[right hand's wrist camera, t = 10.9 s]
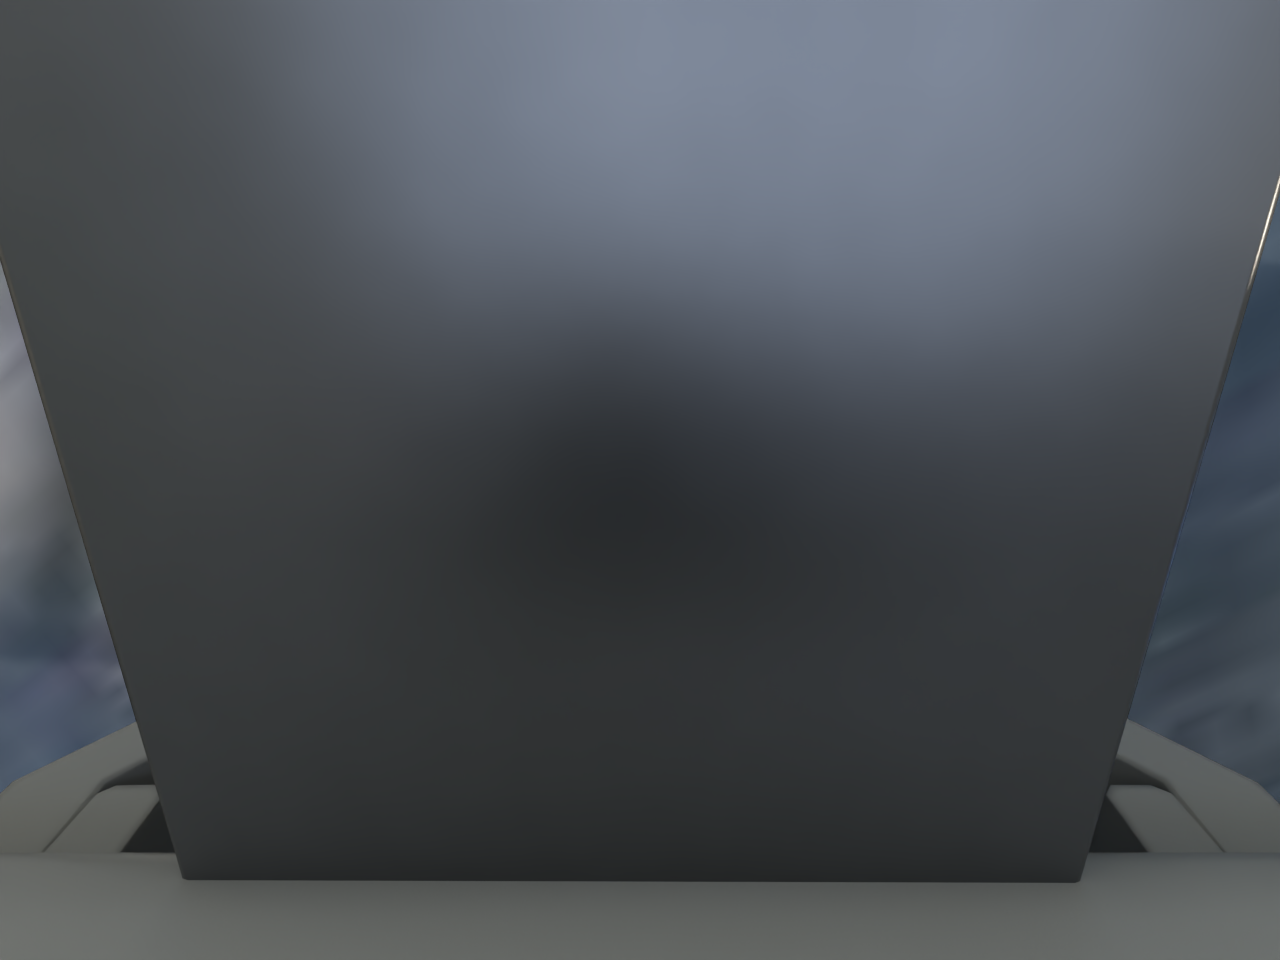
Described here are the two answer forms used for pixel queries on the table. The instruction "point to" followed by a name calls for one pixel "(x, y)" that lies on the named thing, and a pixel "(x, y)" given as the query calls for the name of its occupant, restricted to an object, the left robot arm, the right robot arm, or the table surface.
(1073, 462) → the bar
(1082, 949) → the right robot arm
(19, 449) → the table surface
